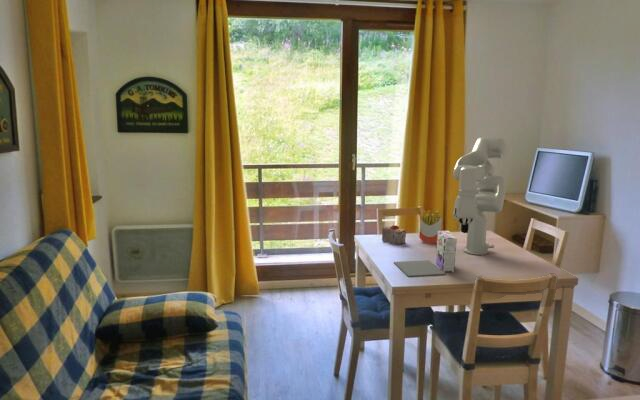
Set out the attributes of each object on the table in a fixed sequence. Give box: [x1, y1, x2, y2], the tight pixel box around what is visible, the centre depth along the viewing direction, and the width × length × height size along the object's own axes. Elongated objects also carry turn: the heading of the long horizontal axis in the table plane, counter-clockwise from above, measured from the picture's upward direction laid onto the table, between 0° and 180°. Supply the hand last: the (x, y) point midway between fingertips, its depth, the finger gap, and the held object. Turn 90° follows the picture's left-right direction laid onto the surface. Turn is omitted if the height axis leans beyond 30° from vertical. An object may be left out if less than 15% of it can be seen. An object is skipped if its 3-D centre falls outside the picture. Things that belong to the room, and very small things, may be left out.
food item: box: [381, 225, 407, 246], centre depth 270 cm, size 14×8×10 cm, turn 46°
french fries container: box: [418, 209, 442, 245], centre depth 270 cm, size 5×11×18 cm, turn 55°
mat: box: [393, 259, 447, 278], centre depth 226 cm, size 18×20×1 cm
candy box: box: [435, 230, 457, 273], centre depth 227 cm, size 14×6×16 cm, turn 179°
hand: (464, 232), depth 226 cm, fingers closed
